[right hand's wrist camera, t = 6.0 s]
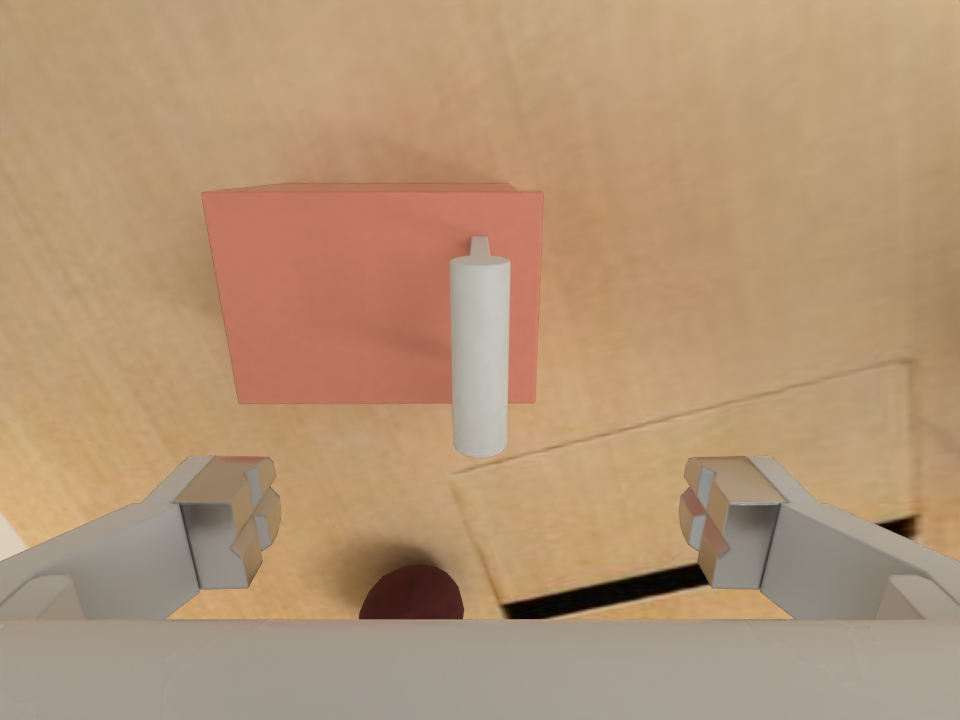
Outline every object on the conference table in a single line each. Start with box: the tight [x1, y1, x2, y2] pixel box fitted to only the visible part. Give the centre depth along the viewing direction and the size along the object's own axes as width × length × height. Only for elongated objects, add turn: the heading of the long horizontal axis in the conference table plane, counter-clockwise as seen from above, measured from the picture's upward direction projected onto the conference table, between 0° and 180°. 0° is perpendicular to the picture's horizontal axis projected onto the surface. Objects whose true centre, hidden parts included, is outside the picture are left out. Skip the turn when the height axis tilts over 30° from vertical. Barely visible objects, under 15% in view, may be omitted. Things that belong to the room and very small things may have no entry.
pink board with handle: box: [201, 191, 544, 458], centre depth 20 cm, size 14×10×9 cm
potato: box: [359, 565, 464, 620], centre depth 38 cm, size 7×8×7 cm
